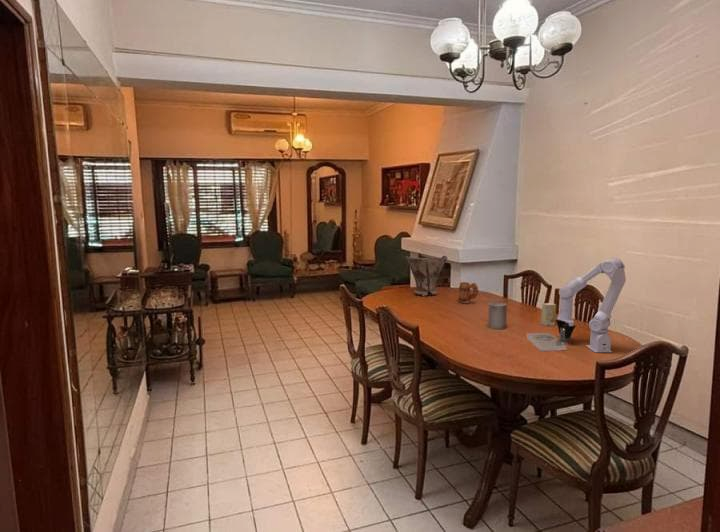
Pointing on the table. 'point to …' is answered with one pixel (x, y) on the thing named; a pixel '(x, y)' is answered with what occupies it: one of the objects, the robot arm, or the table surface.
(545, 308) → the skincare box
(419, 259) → the vessel
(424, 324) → the table surface
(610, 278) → the robot arm
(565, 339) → the bushing
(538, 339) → the plate
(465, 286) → the mug
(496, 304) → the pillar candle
